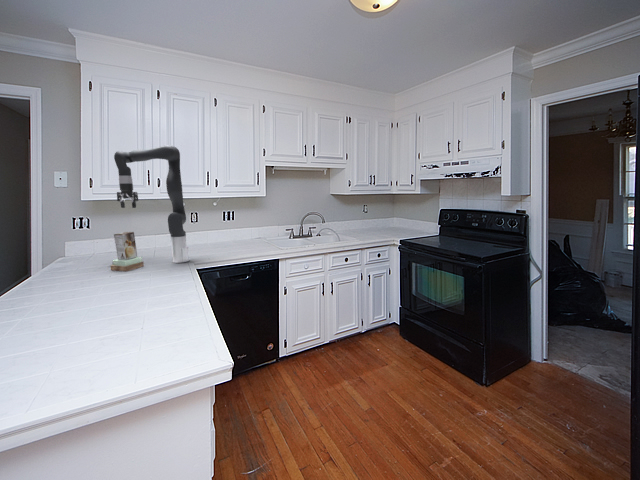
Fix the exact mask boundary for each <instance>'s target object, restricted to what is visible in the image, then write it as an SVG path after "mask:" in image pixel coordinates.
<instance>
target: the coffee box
mask: <svg viewBox="0 0 640 480" xmlns="http://www.w3.org/2000/svg"><path fill="white" fill-rule="evenodd" d="M113 237H114V244H115V249H116V256H117V259H118V260H129V259H132V258H135V257H139V256H138V252H137V243H136V237H135V232H134V231H124V232H120V233H114V234H113Z"/></svg>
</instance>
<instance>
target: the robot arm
mask: <svg viewBox="0 0 640 480" xmlns="http://www.w3.org/2000/svg"><path fill="white" fill-rule="evenodd" d="M113 158H114V162H115V164H116V165H115V166H116V168H117V170H118V171H117V172H118V183H119V184H118V185H119V191H116V197H117V198H116V201H117V202H119V203H120V207H121V208H122V209H125V208H126V205H125V200H128V199H129V201H131V208H132V209H136V208H137V202H138V201H139V196H138V195H139V194H138V192H137V191H134V184H133V178H132V170H131V168H130V167H129V166H128V165H127V164H130V163H135V162H139V163H140V162H146V161H151V160H166V161H167V163H168V172H167V177H166V180H165V185H166V192H167V195H168V196H167V197H169V199H170V202H171V204H172V212H171V213H169V215H168V216H167V226H168V232H169V234H170V242H171V253H172V254H171V255H172V262H173V263H176V264H177V263H179V264H180V263H181V264H182V263H186V262H189V261H190V254H189V246H187V245H188V243H187V233H186V231H185V230H184V225H185V224H186V221H187V216H186V209H185V205H184V195H183V193H184V192H183V184H182V176H181V175H182V174H181V173H182V172H181V152H180V150H179V149H178V147H176V146H173V145H163V146H159V147H155V148H150V149H137V150H131V151H123V150H121V151H120V150H117V151H115V152H114V156H113Z"/></svg>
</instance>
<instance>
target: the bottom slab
mask: <svg viewBox="0 0 640 480" xmlns="http://www.w3.org/2000/svg"><path fill="white" fill-rule="evenodd" d="M144 265H145V264H144V261H142V262H140V263H136V264H132V265H129V266H116V265H113V264H111V265H110V271H114V272H115V271H116V272H130V271H134V270H136V269H140V268H141V267H142V268H143V267H144Z"/></svg>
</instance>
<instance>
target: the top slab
mask: <svg viewBox="0 0 640 480" xmlns="http://www.w3.org/2000/svg"><path fill="white" fill-rule="evenodd" d="M140 262H143V257H142V256H138V257H135V258H132V259H129V260H118V258H116V259H113V260H112V265H116V266H129V265H132V264H136V263H140Z"/></svg>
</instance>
